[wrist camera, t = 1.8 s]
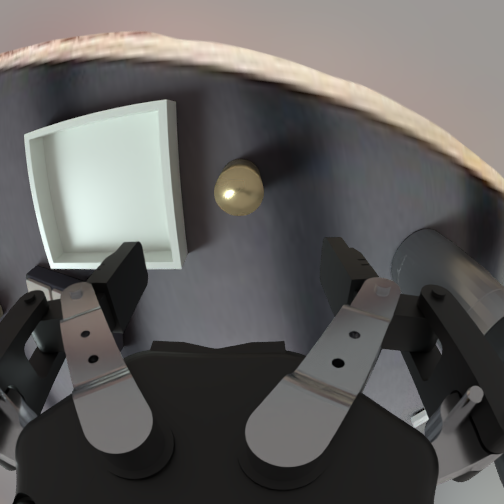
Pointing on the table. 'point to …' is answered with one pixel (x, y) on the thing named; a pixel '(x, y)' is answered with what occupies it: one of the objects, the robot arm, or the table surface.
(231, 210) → the cylinder
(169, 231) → the tray
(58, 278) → the calculator
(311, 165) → the table surface
